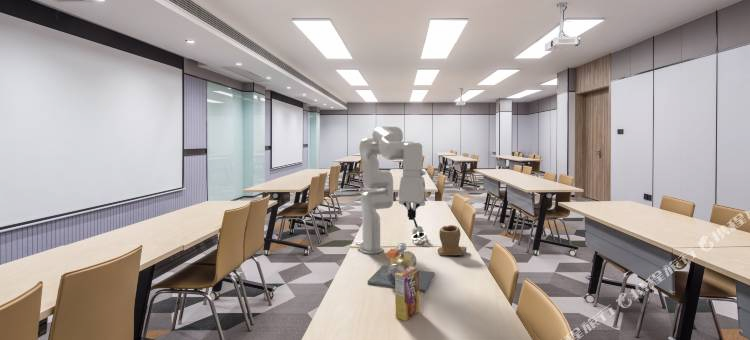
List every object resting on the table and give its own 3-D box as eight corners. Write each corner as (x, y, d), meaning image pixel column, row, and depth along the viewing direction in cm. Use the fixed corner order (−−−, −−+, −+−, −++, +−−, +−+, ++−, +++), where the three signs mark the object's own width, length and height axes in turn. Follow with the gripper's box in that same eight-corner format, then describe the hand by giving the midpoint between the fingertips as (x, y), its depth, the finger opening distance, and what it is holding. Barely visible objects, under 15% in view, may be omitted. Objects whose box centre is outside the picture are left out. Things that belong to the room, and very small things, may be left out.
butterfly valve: (429, 244, 195) (426, 233, 212) (418, 212, 192) (416, 203, 208) (414, 249, 196) (412, 237, 213) (403, 216, 192) (402, 207, 209)
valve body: (367, 283, 144) (367, 253, 143) (382, 267, 162) (382, 240, 161) (425, 292, 136) (425, 260, 135) (434, 274, 154) (434, 246, 152)
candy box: (409, 307, 124) (409, 265, 123) (419, 311, 121) (420, 268, 120) (394, 317, 117) (394, 273, 116) (404, 321, 115) (405, 276, 113)
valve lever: (399, 247, 150) (399, 242, 150) (407, 248, 148) (407, 243, 148) (386, 257, 137) (386, 252, 137) (394, 258, 136) (394, 253, 135)
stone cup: (438, 258, 175) (438, 228, 173) (437, 250, 187) (437, 222, 185) (469, 259, 173) (469, 229, 171) (466, 251, 185) (466, 223, 183)
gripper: (432, 173, 140) (432, 218, 142) (397, 172, 145) (396, 215, 147) (428, 175, 133) (428, 223, 135) (391, 174, 138) (391, 219, 140)
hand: (411, 219), depth 141 cm, fingers closed
